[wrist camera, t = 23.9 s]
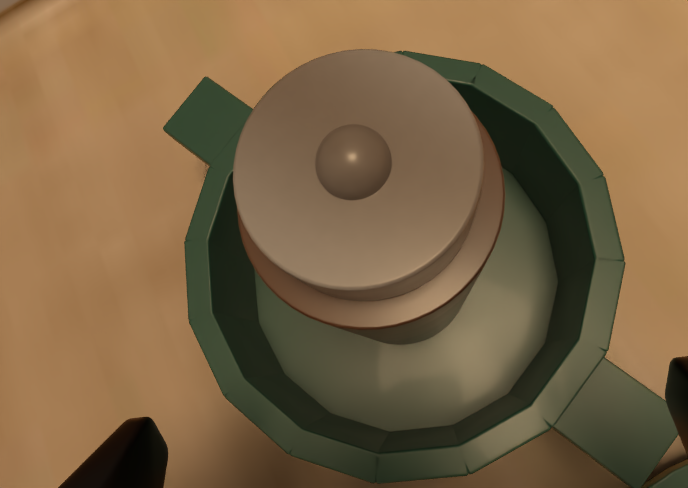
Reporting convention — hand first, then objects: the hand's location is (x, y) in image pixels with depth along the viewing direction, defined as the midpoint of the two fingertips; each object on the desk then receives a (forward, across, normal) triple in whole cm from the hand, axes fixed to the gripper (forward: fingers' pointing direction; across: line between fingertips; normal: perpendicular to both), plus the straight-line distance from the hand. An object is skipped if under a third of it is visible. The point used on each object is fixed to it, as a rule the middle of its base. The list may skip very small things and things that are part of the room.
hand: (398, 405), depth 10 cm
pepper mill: (+10, 0, +4) cm, 11 cm away
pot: (+10, 0, +5) cm, 11 cm away
